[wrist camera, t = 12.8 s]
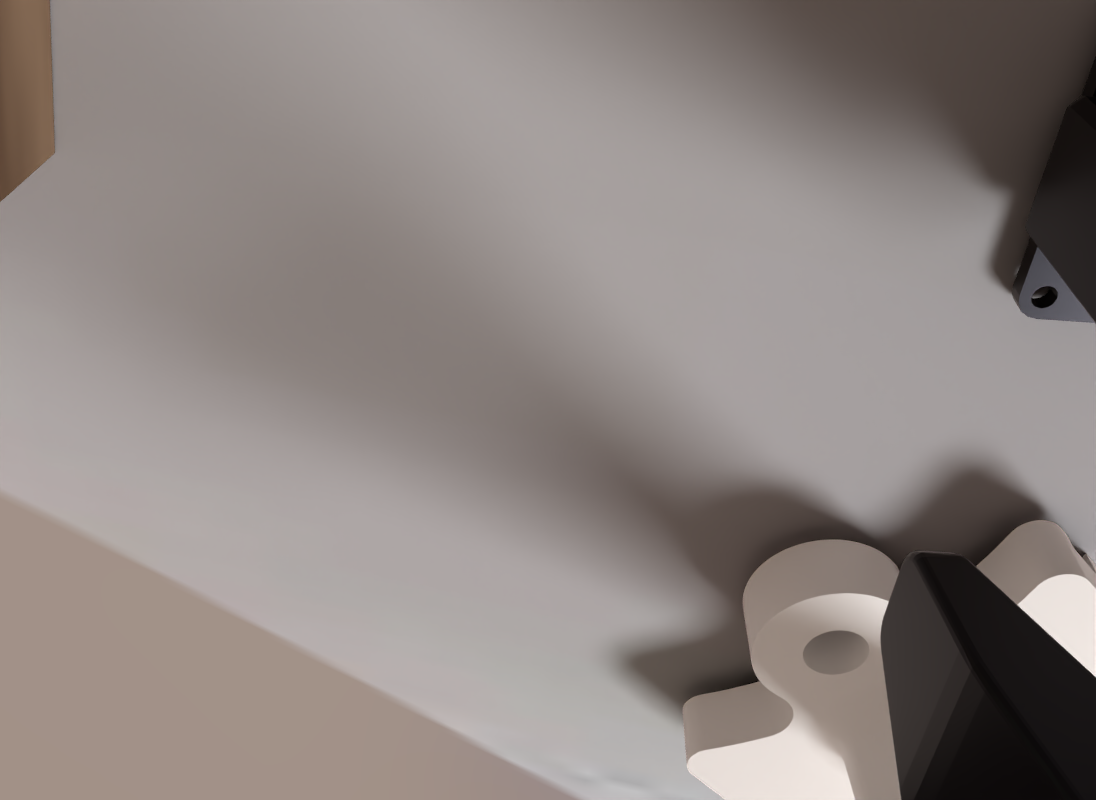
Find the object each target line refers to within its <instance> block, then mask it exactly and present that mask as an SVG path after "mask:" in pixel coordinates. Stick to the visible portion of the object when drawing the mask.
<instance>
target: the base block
mask: <svg viewBox="0 0 1096 800" xmlns="http://www.w3.org/2000/svg"><path fill="white" fill-rule="evenodd" d="M54 153H55V145H54V115H53V85H52V55H51V25H50V0H0V202H1V201H2V200H3V199H4V198H5V197H6V196H7V195H9V194H10V193H11V192H12V191H13V190H14V189H15V188H16V187H17V186H19V185H20V184H21V183H22V182H23V181H24V180H25V179H26V178H27V177H29V176H30V175H31V174H32V173H33V172H34V171H35V170H36V169H37V168H39V167H40V166H41V165H42V164H43V163H44V162H45V161H46V160H47V159H49V158H50V157H51V156H52V155H53V154H54Z"/></svg>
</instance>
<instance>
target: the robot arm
mask: <svg viewBox="0 0 1096 800" xmlns="http://www.w3.org/2000/svg"><path fill="white" fill-rule="evenodd" d="M1025 228H1026V231H1027V232H1028V234H1029V235H1030V237H1031V238H1030V240H1029V243H1028V246H1027V249H1026V252H1025V254H1024V257H1023V260H1022V263H1021V266H1020V268H1019V271H1018V274H1017V277H1016V279H1015V282H1014V285H1013V291H1012V295H1013V298H1014V300H1015V302H1016V304H1017V305H1018V307H1019V308H1020V310H1021V311H1022V312H1023V313H1024V314H1025V315H1026V316H1028V317H1032V318H1036V319H1048V320H1062V321H1076V322H1090V323H1096V57H1095V60H1094V63H1093V65H1092V68H1091V71H1090V74H1089V76H1088V79H1087V82H1086V85H1085V88H1084V90H1083V93H1082V96H1080V97H1079V98H1078V99H1077V100H1076V101H1075V102H1073V103H1072V104H1071V105H1070V106H1069V107H1068V108H1067V109H1066V112H1065V115H1064V117H1063V120H1062V123H1061V126H1060V129H1059V132H1058V134H1057V137H1056V140H1055V143H1054V146H1053V149H1052V151H1051V154H1050V157H1049V160H1048V163H1047V166H1046V168H1045V171H1044V174H1043V177H1042V180H1041V182H1040V185H1039V188H1038V191H1037V194H1036V197H1035V199H1034V202H1033V205H1032V208H1031V211H1030V214H1029V216H1028V219H1027V222H1026V226H1025ZM1045 286H1051V288H1050V290H1049V291H1048V293H1047V294H1046V295H1044V296H1042V297H1041V298H1034V299H1033V298H1032V295H1033V294H1034V292H1035V291H1036V290H1038V289H1039V288H1041V287H1045ZM880 641H881V654H882V661H883V669H884V676H885V684H886V691H887V699H888V706H889V714H890V721H891V729H892V736H893V744H894V752H895V759H896V767H897V774H898V782H899V789H900V796H901V800H1096V677H1095V676H1094V675H1093V674H1092V673H1091V672H1090V671H1089V670H1087V669H1086V668H1085V667H1084V666H1083V665H1082V664H1081V663H1080V662H1079V661H1078V660H1077V659H1076V658H1074V657H1073V656H1072V655H1071V654H1070V653H1069V652H1068V651H1067V650H1066V649H1065V648H1064V647H1062V646H1061V645H1060V644H1059V643H1058V642H1057V641H1056V640H1055V639H1054V638H1053V637H1052V636H1051V635H1049V634H1048V633H1047V632H1046V631H1045V630H1044V629H1043V628H1042V627H1041V626H1040V625H1039V624H1038V623H1036V622H1035V621H1034V620H1033V619H1032V618H1031V617H1030V616H1029V615H1028V614H1027V613H1026V612H1025V611H1023V610H1022V609H1021V608H1020V607H1019V606H1018V605H1017V604H1016V603H1015V602H1014V601H1013V600H1011V599H1010V598H1009V597H1008V596H1007V595H1006V594H1005V593H1004V592H1003V591H1002V590H1001V589H1000V588H998V587H997V586H996V585H995V584H994V583H993V582H992V581H991V580H990V579H989V578H988V577H987V576H985V575H984V574H983V573H982V572H981V571H980V570H979V569H978V568H977V567H976V566H975V565H973V564H972V563H971V562H970V561H969V560H968V559H966V558H965V557H964V556H962V555H960V554H956V553H948V552H934V551H914V552H911V553H909V554H908V555H907V557H906V558H905V559H904V561H903V563H902V565H901V568H900V571H899V574H898V577H897V580H896V583H895V585H894V588H893V591H892V594H891V597H890V600H889V602H888V605H887V608H886V611H885V614H884V617H883V620H882V625H881V635H880Z"/></svg>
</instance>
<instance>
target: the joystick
mask: <svg viewBox="0 0 1096 800" xmlns="http://www.w3.org/2000/svg"><path fill="white" fill-rule="evenodd" d="M976 567H977V568H978V569H979V570H980V571H981V572H982V573H983V574H984V575H985V576H987V577H988V578H989V579H990V580H991V581H992V582H993V583H994V584H995V585H996V586H997V587H998V588H1000V589H1001V590H1002V591H1003V592H1004V593H1005V594H1006V595H1007V596H1008V597H1009V598H1010V599H1011V600H1013V601H1014V602H1015V603H1016V604H1017V605H1018V606H1019V607H1020V608H1021V609H1022V610H1023V611H1025V612H1026V613H1027V614H1028V615H1029V616H1030V617H1031V618H1032V619H1033V620H1034V621H1035V622H1036V623H1038V624H1039V625H1040V626H1041V627H1042V628H1043V629H1044V630H1045V631H1046V632H1047V633H1048V634H1049V635H1051V636H1052V637H1053V638H1054V639H1055V640H1056V641H1057V642H1058V643H1059V644H1060V645H1061V646H1062V647H1064V648H1065V649H1066V650H1067V651H1068V652H1069V653H1070V654H1071V655H1072V656H1073V657H1074V658H1076V659H1077V660H1078V661H1079V662H1080V663H1081V664H1082V665H1083V666H1084V667H1085V668H1086V669H1087V670H1089V671H1090V672H1091V673H1092V674H1093V675H1094V676H1095V677H1096V565H1095V563H1094V562H1093V561H1092V560H1091V559H1090V557H1089V556H1088V555H1087V554H1085V555H1084V556H1083V557H1081V556H1080V555H1079V553H1078V552H1077V551H1076V550H1075V549H1074V547H1073V546H1072V544H1071V542H1070V540H1069V538H1068V536H1067V535H1066V533H1065V532H1064V531H1063V530H1062V529H1061V527H1060V526H1059V525H1057V524H1056V523H1053V522H1051V521H1046V520H1036V521H1030V522H1027V523H1024V524H1022V525H1020V526H1018V527H1017V528H1015V529H1014V530H1013V531H1012V532H1011V533H1010V534H1009V535H1008V536H1007V537H1006V538H1005V539H1004V540H1003V541H1002V542H1001V543H1000V544H999V545H998V546H997V547H996V548H995V549H994V550H993V551H992V552H991V553H990V554H989V555H988V556H987V557H986V558H984V559H983V560H982V561H981V562H980V563H979V564H978V565H977V566H976ZM898 574H899V569H898V567H897V566H896V565H895V563H894V562H893V561H892V560H891V559H890V558H889V557H887V556H886V555H885V554H883V553H882V552H880V551H878V550H877V549H875V548H873V547H870V546H868V545H865V544H862V543H858V542H853V541H848V540H833V539H831V540H817V541H811V542H806V543H802V544H799V545H795V546H792V547H790V548H787V549H785V550H783V551H781V552H779V553H777V554H775V555H774V556H772V557H771V558H769V559H768V560H766V561H765V562H764V563H763V564H762V565H761V566H759V567H758V568H757V570H756V571H755V572H754V573H753V574H752V576H751V577H750V579H749V581H748V582H747V585H746V587H745V590H744V594H743V610H744V617H745V624H746V630H747V637H748V643H749V650H750V656H751V663H752V667H753V670H754V672H755V674H756V676H757V678H758V679H759V682H755V683H752V684H748V685H744V686H740V687H736V688H732V689H727V690H722V691H718V692H712V693H707V694H702V695H697V696H695V697H692V698H691V699H689V700H688V701H687V702H686V703H685V704H684V706H683V722H684V735H685V747H686V760H687V768H688V771H689V772H690V773H691V774H692V775H693V776H695V777H696V778H697V779H698V780H700V781H701V782H702V783H704V784H705V785H706V786H708V787H709V788H710V789H712V790H713V791H714V792H716V793H717V794H718V795H719V796H721V797H722V798H723V799H725V800H901V796H900V789H899V782H898V774H897V767H896V759H895V752H894V744H893V736H892V729H891V721H890V714H889V706H888V699H887V691H886V684H885V676H884V669H883V661H882V654H881V641H880V635H881V625H882V620H883V617H884V614H885V611H886V608H887V605H888V602H889V600H890V597H891V594H892V591H893V588H894V585H895V583H896V580H897V577H898Z"/></svg>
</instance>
